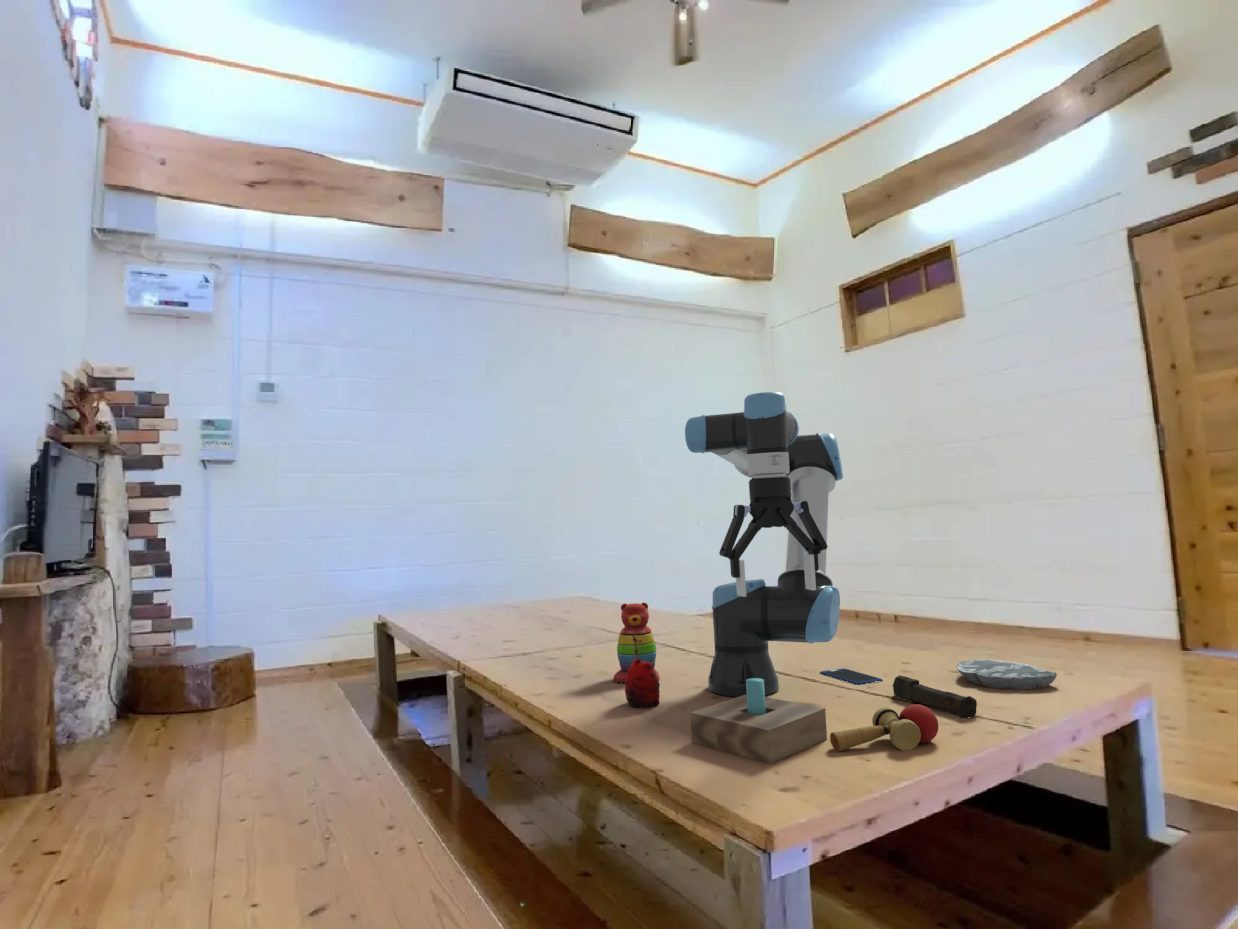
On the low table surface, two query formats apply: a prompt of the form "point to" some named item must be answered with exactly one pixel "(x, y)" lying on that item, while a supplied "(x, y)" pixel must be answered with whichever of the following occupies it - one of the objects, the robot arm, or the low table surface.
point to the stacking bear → (634, 623)
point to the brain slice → (1005, 674)
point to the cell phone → (851, 676)
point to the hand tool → (934, 697)
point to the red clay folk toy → (641, 682)
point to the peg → (755, 696)
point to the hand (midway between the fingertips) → (776, 592)
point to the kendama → (892, 729)
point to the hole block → (758, 728)
